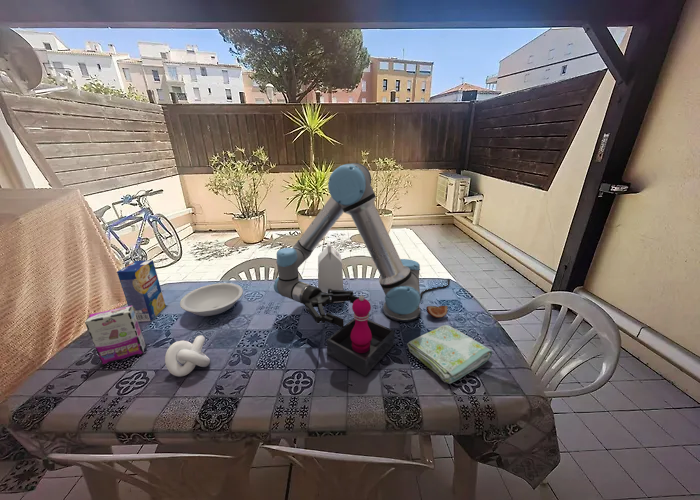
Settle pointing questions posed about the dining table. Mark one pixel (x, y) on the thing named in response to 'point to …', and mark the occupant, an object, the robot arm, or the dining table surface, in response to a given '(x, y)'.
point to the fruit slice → (437, 311)
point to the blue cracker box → (142, 289)
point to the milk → (330, 270)
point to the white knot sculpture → (186, 356)
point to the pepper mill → (361, 326)
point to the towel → (449, 353)
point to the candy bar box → (115, 334)
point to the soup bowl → (211, 299)
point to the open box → (360, 362)
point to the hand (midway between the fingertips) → (355, 313)
